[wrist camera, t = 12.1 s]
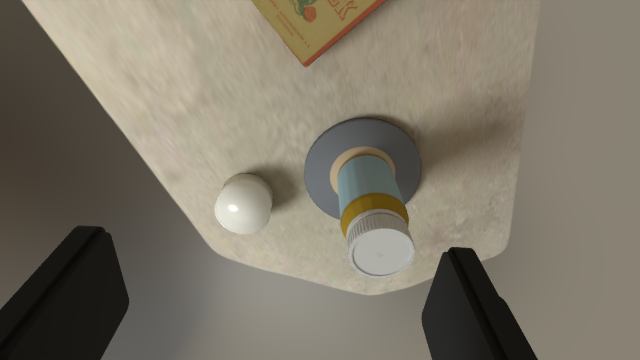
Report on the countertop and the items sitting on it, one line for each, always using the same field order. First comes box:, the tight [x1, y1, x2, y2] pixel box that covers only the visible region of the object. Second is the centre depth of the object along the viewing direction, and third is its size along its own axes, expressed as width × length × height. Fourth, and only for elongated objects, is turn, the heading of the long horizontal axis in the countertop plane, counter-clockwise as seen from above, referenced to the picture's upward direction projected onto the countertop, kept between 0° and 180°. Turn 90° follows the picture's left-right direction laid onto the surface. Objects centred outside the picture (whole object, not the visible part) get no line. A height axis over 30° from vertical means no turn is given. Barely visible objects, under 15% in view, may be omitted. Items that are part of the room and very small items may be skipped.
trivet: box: [304, 118, 421, 219], centre depth 47 cm, size 15×15×1 cm
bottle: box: [337, 153, 415, 279], centre depth 40 cm, size 7×7×15 cm
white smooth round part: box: [215, 174, 273, 234], centre depth 48 cm, size 7×7×4 cm
